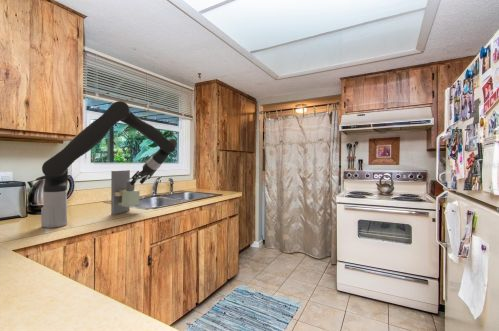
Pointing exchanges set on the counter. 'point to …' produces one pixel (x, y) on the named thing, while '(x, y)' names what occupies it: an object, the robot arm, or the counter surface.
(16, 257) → the counter surface
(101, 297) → the counter surface
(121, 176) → the wall board
